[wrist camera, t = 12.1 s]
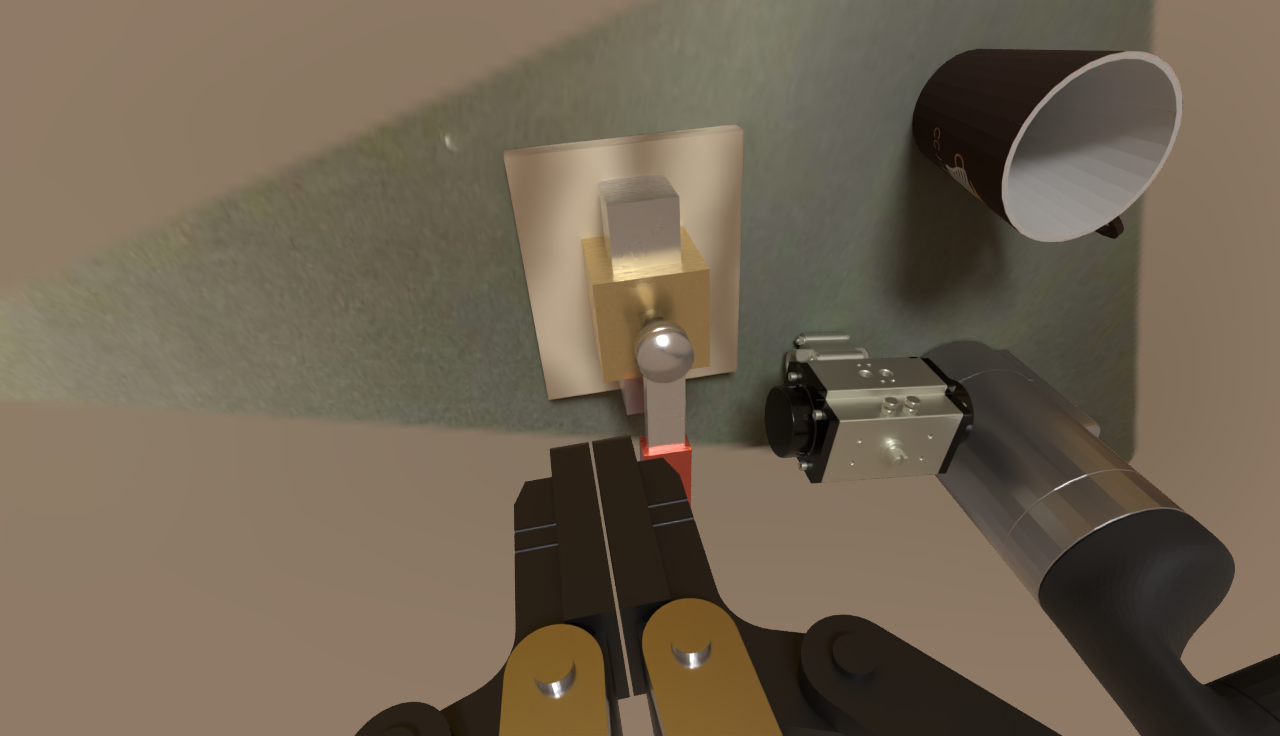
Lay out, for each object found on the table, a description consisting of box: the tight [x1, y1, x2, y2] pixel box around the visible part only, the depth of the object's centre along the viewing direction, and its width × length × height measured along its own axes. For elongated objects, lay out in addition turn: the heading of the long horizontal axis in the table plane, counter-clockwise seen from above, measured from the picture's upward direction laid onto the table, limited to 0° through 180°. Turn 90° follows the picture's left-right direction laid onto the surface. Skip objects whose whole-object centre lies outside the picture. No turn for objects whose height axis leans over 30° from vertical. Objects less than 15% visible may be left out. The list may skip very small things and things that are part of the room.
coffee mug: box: [913, 49, 1183, 242], centre depth 34 cm, size 12×9×10 cm
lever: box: [634, 321, 695, 507], centre depth 34 cm, size 12×3×2 cm, turn 2°
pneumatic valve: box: [765, 332, 974, 483], centre depth 40 cm, size 6×12×12 cm, turn 86°
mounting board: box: [504, 124, 743, 400], centre depth 39 cm, size 13×16×2 cm
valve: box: [581, 174, 710, 415], centre depth 35 cm, size 6×13×7 cm, turn 4°
